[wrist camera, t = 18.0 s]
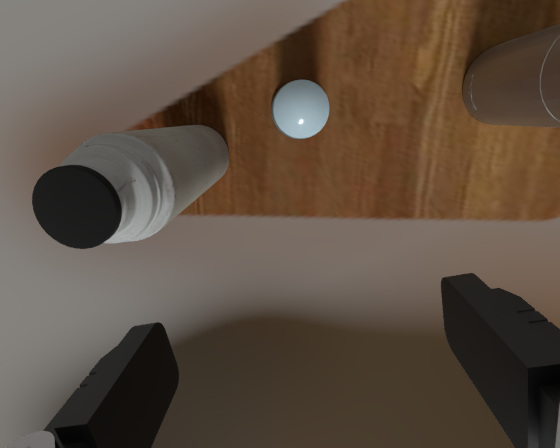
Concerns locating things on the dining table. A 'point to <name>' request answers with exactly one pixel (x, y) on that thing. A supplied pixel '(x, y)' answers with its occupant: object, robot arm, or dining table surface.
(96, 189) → the thermos bottle
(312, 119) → the tall pale blue cylinder
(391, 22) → the dining table surface
